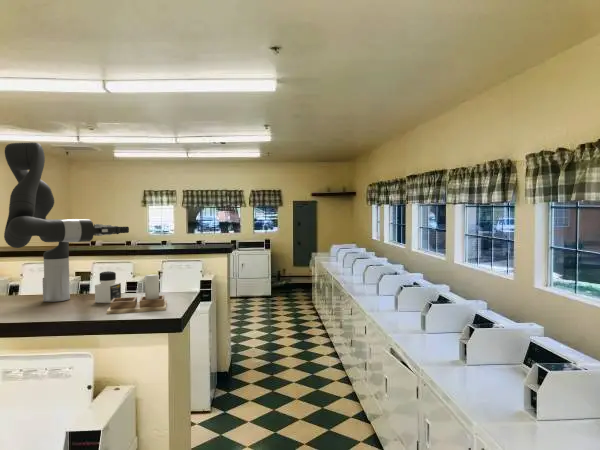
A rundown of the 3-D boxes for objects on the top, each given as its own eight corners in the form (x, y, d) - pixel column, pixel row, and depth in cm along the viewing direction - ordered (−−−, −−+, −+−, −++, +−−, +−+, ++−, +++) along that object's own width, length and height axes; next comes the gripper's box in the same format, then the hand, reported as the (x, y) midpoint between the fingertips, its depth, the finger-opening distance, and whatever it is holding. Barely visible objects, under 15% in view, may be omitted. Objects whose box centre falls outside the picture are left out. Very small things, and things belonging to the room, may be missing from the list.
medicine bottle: (110, 303, 181) (110, 273, 180) (94, 302, 182) (94, 272, 182) (121, 299, 188) (120, 270, 187) (105, 299, 189) (105, 270, 189)
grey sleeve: (144, 306, 169) (144, 276, 169) (145, 303, 174) (144, 274, 174) (159, 305, 170) (159, 275, 170) (159, 302, 175) (159, 274, 175)
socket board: (106, 313, 162) (106, 304, 161) (112, 306, 175) (112, 297, 175) (165, 310, 167) (165, 300, 167) (166, 302, 180) (166, 293, 180)
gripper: (84, 219, 147) (132, 219, 159) (67, 219, 156) (113, 218, 168) (84, 242, 147) (132, 240, 159) (67, 241, 157) (113, 239, 169)
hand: (122, 229), depth 164 cm, fingers open, 8 cm apart
